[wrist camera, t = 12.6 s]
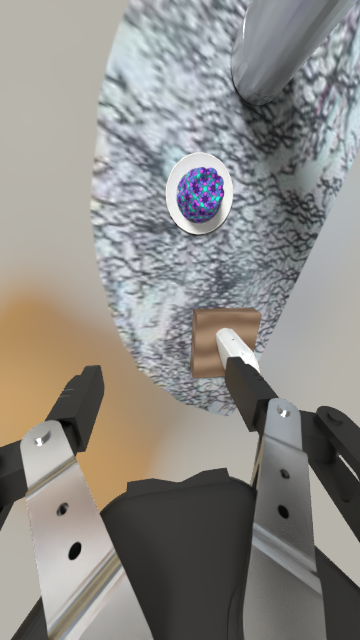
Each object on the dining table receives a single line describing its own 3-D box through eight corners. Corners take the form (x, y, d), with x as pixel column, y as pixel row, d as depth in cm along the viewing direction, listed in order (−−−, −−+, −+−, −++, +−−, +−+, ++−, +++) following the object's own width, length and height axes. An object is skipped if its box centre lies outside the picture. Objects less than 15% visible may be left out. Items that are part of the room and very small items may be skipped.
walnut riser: (193, 308, 40) (197, 315, 37) (252, 307, 42) (261, 313, 39) (190, 367, 47) (193, 378, 43) (241, 364, 49) (248, 374, 45)
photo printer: (212, 330, 39) (236, 367, 27) (231, 324, 39) (263, 358, 27) (221, 367, 43) (245, 412, 32) (238, 361, 43) (269, 404, 32)
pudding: (151, 200, 32) (151, 193, 27) (197, 134, 29) (205, 113, 24) (200, 248, 36) (208, 249, 31) (244, 194, 33) (259, 186, 28)
